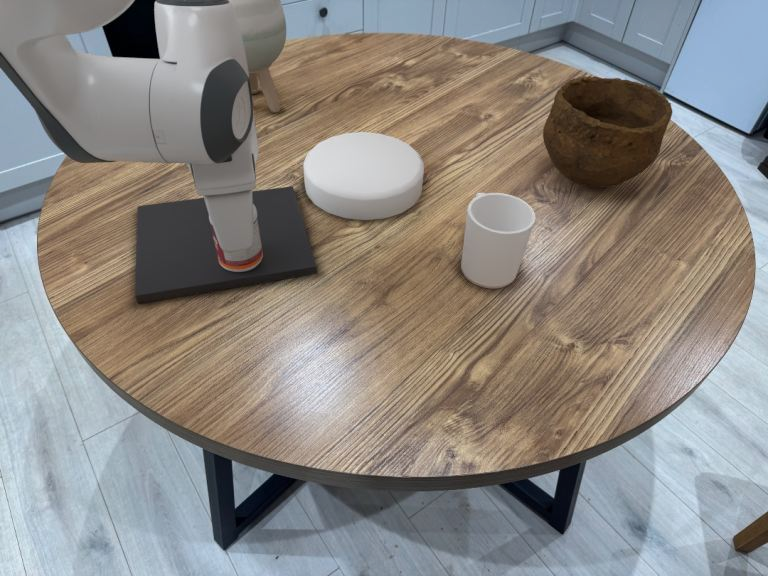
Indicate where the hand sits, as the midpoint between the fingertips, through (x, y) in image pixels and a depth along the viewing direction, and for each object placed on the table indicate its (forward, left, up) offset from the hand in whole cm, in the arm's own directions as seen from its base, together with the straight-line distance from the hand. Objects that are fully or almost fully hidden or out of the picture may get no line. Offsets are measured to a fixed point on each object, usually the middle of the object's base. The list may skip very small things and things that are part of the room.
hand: (236, 233), depth 76 cm
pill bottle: (0, 0, -5) cm, 5 cm away
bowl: (+61, +9, -6) cm, 62 cm away
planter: (+7, +48, -6) cm, 49 cm away
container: (+22, +16, -6) cm, 28 cm away
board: (-2, +6, -6) cm, 9 cm away
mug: (+34, -8, -6) cm, 35 cm away
